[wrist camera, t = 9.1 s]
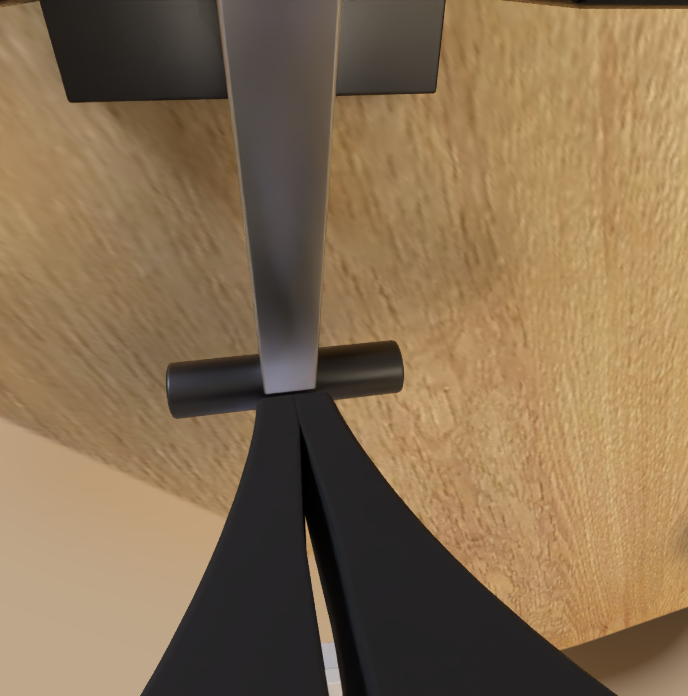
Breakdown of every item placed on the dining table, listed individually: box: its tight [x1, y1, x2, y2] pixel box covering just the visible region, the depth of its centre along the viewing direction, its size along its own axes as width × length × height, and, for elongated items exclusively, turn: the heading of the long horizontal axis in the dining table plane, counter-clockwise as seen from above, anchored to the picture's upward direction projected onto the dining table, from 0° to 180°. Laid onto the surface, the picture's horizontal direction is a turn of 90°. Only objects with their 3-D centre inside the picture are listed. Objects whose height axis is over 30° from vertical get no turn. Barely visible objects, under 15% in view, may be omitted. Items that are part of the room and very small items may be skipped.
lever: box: [166, 0, 404, 419], centre depth 7 cm, size 12×5×2 cm, turn 0°
